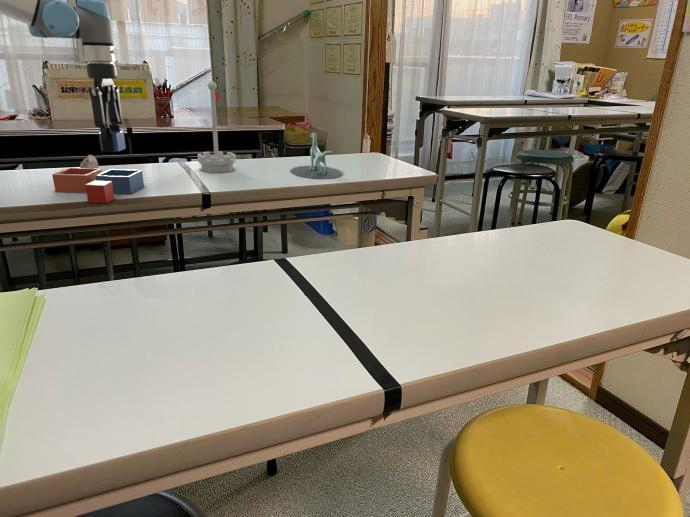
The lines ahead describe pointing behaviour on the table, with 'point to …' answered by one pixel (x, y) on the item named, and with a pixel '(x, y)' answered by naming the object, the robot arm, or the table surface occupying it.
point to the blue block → (116, 140)
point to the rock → (90, 163)
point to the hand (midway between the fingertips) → (113, 148)
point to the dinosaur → (316, 165)
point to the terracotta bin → (74, 179)
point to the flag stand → (215, 143)
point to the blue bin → (123, 180)
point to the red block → (99, 191)
